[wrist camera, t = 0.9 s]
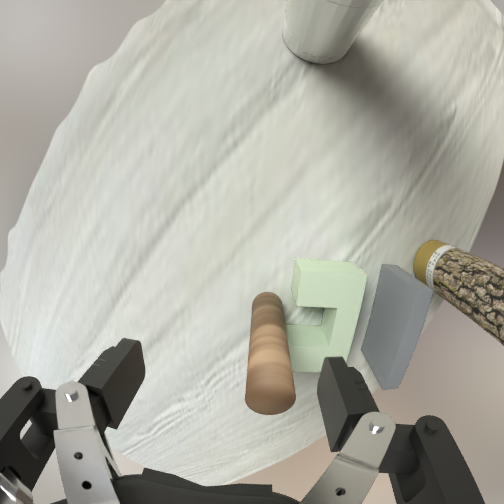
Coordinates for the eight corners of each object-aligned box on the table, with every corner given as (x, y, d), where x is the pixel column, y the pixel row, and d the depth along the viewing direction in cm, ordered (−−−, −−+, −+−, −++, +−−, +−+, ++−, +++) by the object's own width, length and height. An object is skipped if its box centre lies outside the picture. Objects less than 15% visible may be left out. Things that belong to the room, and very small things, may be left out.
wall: (381, 264, 35) (417, 290, 25) (396, 265, 35) (433, 290, 25) (360, 349, 38) (382, 389, 28) (374, 349, 38) (398, 388, 28)
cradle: (295, 257, 35) (301, 270, 29) (352, 262, 35) (367, 275, 29) (282, 348, 38) (285, 371, 33) (334, 350, 38) (343, 371, 33)
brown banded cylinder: (253, 291, 36) (246, 379, 19) (283, 293, 36) (299, 382, 19) (251, 317, 37) (243, 413, 20) (280, 319, 37) (291, 415, 20)
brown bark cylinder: (420, 290, 35) (528, 384, 11) (405, 256, 34) (534, 340, 10) (449, 265, 34) (564, 335, 10) (436, 230, 33) (570, 285, 9)
